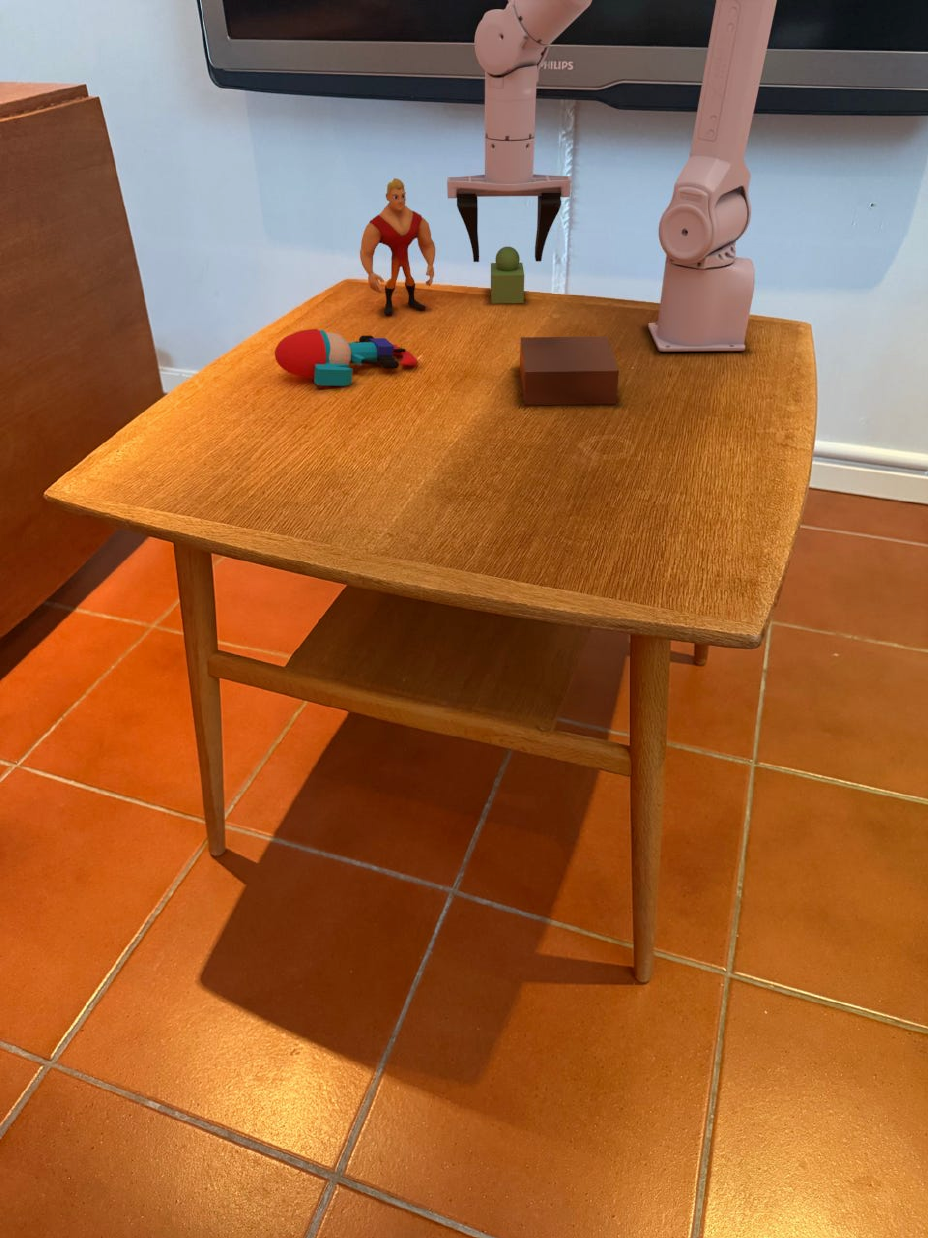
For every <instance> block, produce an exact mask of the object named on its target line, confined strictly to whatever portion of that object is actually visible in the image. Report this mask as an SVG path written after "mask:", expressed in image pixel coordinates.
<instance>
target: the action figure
mask: <svg viewBox="0 0 928 1238" xmlns="http://www.w3.org/2000/svg"><path fill="white" fill-rule="evenodd" d="M386 186H387V187H386V188H387V189H386V193H385V199H386V201H388V203H387V205H386V206H385V207H384V208H383V209H382V211H381V212H380V213H379V214H377V215H375V217H373V218H372V219H370V220H369V222H368V223H367V225H366V226H365V228H364V231H363V234H362V237H361V241H360V242H361V244H360V250H359V258H360V259H359V260H360V262H361V266H362V268H363V270H364V271H365V272H366V274H367V275H368V277H367V281H368V282H367V283H368V286H369V287H370V289H371V290H372V291H375V292H376V293H378V294H382V293H383V292H384V295H385V305H384V309H383V313H384V315H385V316H391V315H393V313H394V310H393V307H394V306H393V294H394V291H395V290H396V284H397V281H398V278H399V274H400V270H401V269H402V272H403V275H404V278H405V279H404V287H405V289H406V291H407V295H408V300H407V305H408V306H409V307H415V308H416V309H418V310H419V311H424V310H426V306H425V304H422V303H420V302H419V301H418V300H416V299H415V290H416V283H415V279H414V278H413V276H412V274H411V267H410V261H409V247H410V245H411V244H412V242H413V241H414V240H415V239H417V245H418V248H419V251H420V253H421V255H422V256H423V258H424V260H425V262H426V264H427V268H426V272H425V275H426V276H428V277H429V279H428V280H426V281H425V285H426V286H427V287H430V286H432V284H433V282H434V277H435V268H434V263H435V258H436V246H435V242H434V240H433V239H432V231H431V228H430V224H429V222H428V221H427V219H425V218H424V217H423V216H422V214H419V213H418V212H416V211H414V210H412V209H410V208H409V207H408V206H407V205H406V201H407V197H406V191H405V184H404V182H403V181H402V180H401V179H399V178H396V177H394V178H393V179H392V181H390V182H388V184H387V185H386ZM379 244H382V245H385V246H387V247H388V248H389V250H390V252H391V261H390V262H391V264H390V265H391V266H390V267H391V269H390V270H391V271H390V274H391V275H390V279H388V280H387V281H386V284H385V286H384V289H383V287H381V285H380V283H384V282H385V280H384V278H382V276H381V275H379V274H377V273H375V272H374V255H375V253H376V249H377V247H378V246H379ZM379 282H380V283H379Z"/></svg>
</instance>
